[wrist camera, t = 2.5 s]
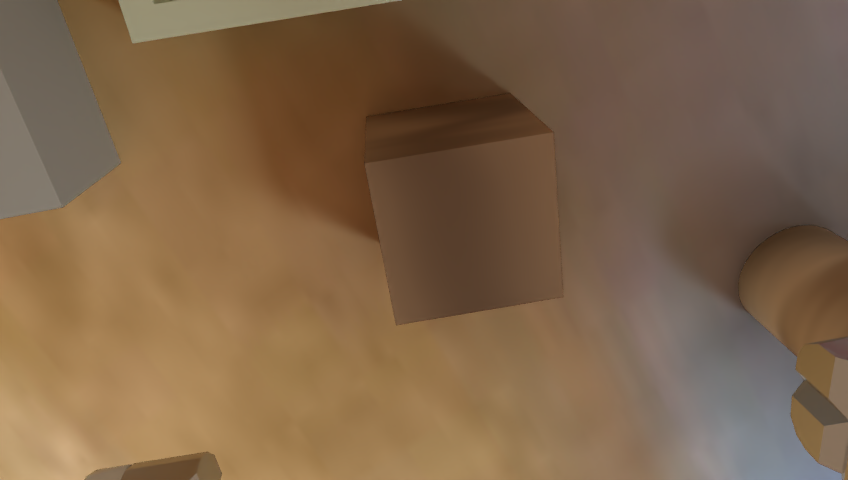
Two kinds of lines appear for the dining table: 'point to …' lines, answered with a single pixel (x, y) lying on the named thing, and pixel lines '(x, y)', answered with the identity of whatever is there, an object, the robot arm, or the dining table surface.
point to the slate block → (46, 113)
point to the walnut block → (464, 207)
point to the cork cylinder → (798, 286)
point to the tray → (218, 14)
